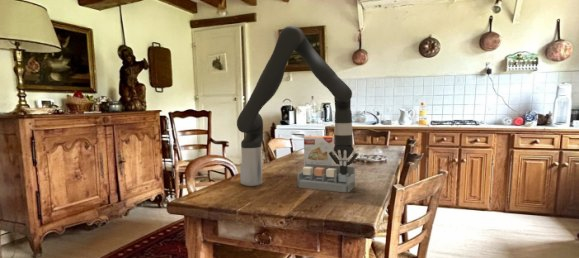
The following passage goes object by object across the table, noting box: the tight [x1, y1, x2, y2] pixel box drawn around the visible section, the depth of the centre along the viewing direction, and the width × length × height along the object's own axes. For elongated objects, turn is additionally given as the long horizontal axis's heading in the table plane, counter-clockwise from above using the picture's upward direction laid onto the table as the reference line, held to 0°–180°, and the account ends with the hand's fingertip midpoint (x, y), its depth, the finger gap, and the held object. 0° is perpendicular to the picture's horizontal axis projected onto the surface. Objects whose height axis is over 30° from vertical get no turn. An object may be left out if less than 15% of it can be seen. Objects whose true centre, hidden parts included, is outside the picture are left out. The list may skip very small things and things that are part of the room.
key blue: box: [338, 173, 349, 182], centre depth 139 cm, size 4×4×3 cm
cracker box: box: [303, 135, 335, 168], centre depth 159 cm, size 14×6×21 cm, turn 73°
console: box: [296, 163, 356, 194], centre depth 143 cm, size 23×10×9 cm, turn 63°
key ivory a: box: [302, 167, 313, 175], centre depth 147 cm, size 4×4×3 cm
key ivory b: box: [326, 168, 337, 177], centre depth 142 cm, size 4×4×3 cm
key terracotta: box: [314, 167, 325, 176], centre depth 144 cm, size 4×4×3 cm
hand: (343, 174), depth 139 cm, fingers closed
